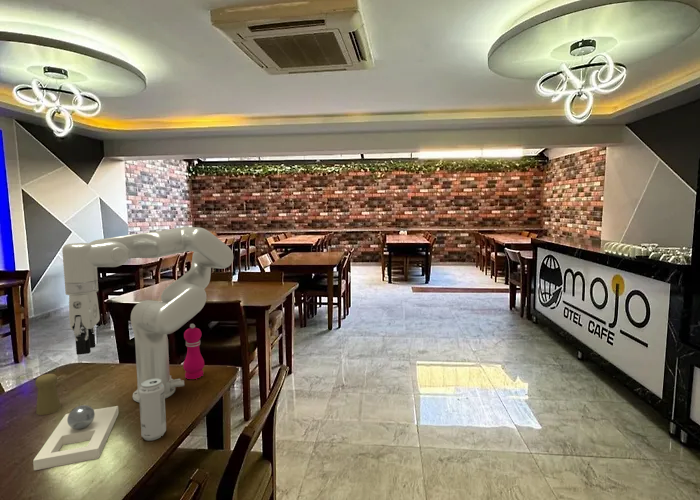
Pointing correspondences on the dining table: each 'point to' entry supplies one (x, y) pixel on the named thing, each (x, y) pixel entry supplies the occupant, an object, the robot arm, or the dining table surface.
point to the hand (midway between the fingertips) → (86, 350)
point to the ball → (81, 417)
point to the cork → (47, 394)
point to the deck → (77, 440)
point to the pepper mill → (193, 353)
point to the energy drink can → (152, 409)
